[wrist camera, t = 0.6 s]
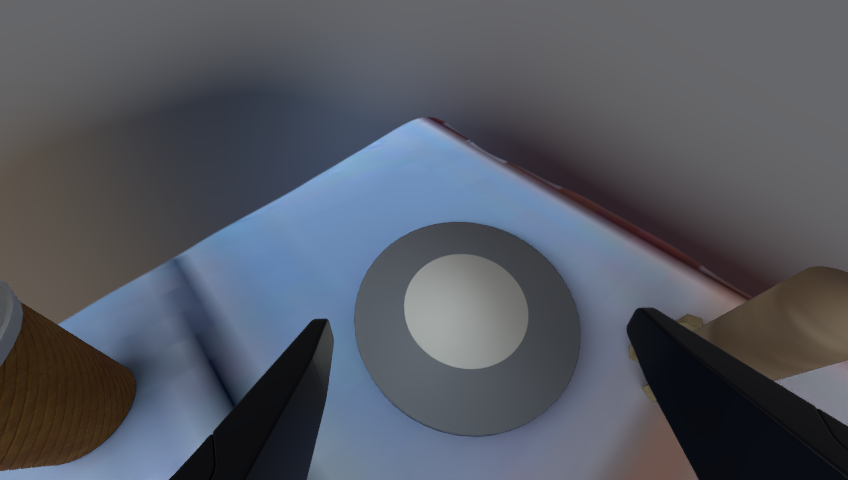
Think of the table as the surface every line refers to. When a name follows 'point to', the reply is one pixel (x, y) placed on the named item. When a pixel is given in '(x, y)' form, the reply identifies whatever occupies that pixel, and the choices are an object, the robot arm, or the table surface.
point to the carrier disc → (467, 329)
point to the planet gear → (784, 326)
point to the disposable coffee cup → (53, 390)
